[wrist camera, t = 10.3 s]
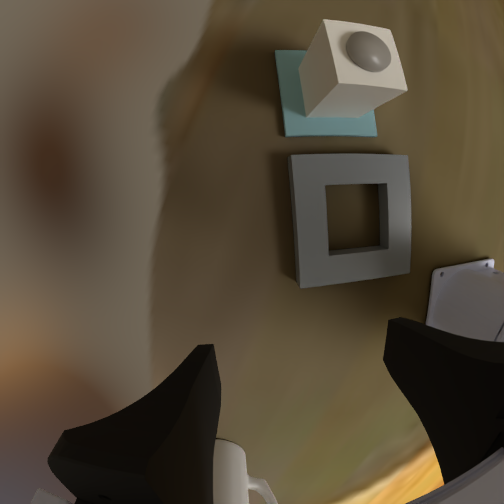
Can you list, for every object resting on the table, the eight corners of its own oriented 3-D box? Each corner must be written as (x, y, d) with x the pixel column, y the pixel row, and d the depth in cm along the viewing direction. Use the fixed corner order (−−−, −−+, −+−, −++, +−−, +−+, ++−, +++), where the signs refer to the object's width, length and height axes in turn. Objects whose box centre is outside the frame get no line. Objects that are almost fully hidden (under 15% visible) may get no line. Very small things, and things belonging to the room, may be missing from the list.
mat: (360, 58, 17) (362, 55, 17) (374, 137, 19) (377, 136, 18) (274, 53, 17) (275, 50, 16) (285, 137, 18) (286, 135, 18)
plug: (349, 70, 17) (393, 26, 10) (358, 118, 18) (411, 88, 10) (298, 68, 17) (325, 15, 10) (306, 117, 18) (341, 80, 10)
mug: (181, 459, 25) (167, 542, 13) (194, 430, 24) (180, 528, 12) (261, 475, 26) (268, 553, 14) (284, 448, 25) (300, 537, 13)
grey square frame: (397, 157, 19) (407, 155, 17) (400, 268, 21) (409, 273, 19) (287, 157, 19) (291, 155, 17) (296, 281, 21) (300, 288, 19)
